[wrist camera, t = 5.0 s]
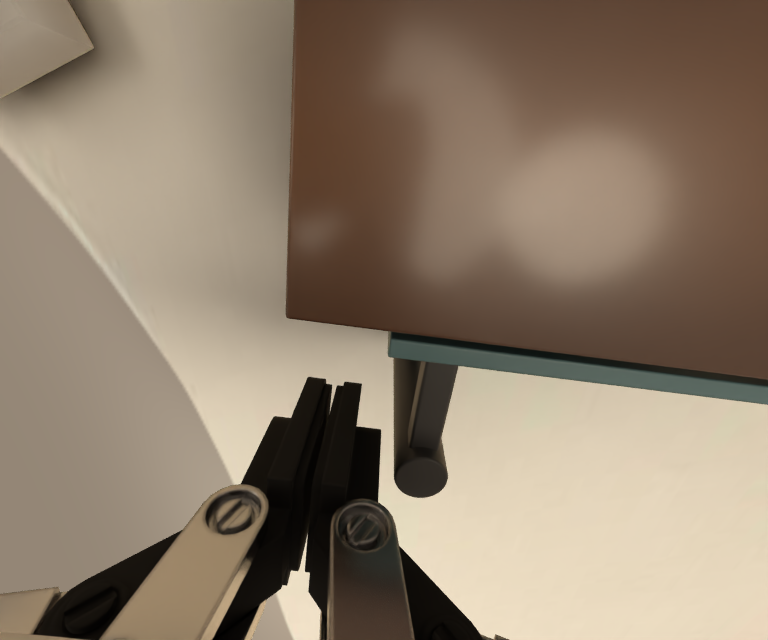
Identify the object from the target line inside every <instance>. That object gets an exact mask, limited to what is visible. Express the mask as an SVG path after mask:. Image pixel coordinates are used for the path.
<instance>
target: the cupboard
mask: <svg viewBox="0 0 768 640" xmlns="http://www.w3.org/2000/svg"><path fill="white" fill-rule="evenodd" d="M286 317H287V318H289V319H297V320H305V321H313V322H321V323H329V324H336V325H344V326H352V327H360V328H368V329H376V330H383V331H391V332H399V333H407V334H415V335H423V336H430V337H438V338H446V339H454V340H462V341H470V342H477V343H485V344H493V345H501V346H509V347H517V348H524V349H532V350H540V351H548V352H556V353H564V354H571V355H579V356H587V357H595V358H603V359H611V360H618V361H626V362H634V363H642V364H650V365H658V366H665V367H673V368H681V369H689V370H697V371H705V372H712V373H720V374H728V375H736V376H744V377H752V378H759V379H767V380H768V0H294V29H293V65H292V102H291V138H290V174H289V210H288V247H287V283H286Z"/></svg>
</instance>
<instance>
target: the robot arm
mask: <svg viewBox="0 0 768 640" xmlns="http://www.w3.org/2000/svg"><path fill="white" fill-rule="evenodd" d="M361 387H362V384H359V383H351V382H344V386H338V385H337V388H336V392H335V396H334V399H333V403H332V407H331V411H330V403H331V393H332V385H330V384H326V379H320V378H313V377H308V378H307V380H306V383H305V385H304V388H303V390H302V393H301V395H300V398H299V400H298V402H297V405H296V407H295V410H294V412H293V415H292V417H291V418H285V417H277V416H275V417H273V419H272V421H271V423H270V425H269V427H268V429H267V431H266V433H265V435H264V437H263V439H262V441H261V443H260V445H259V447H258V449H257V452H256V454H255V456H254V458H253V460H252V462H251V464H250V466H249V468H248V470H247V472H246V474H245V476H244V478H243V481H242V483H241V484H238V485H231V486H228V487H225V488H222V489H220V490H218V491H217V492H215V493H214V494H212V495H211V496H210V497H209V498H208V499H207V500H206V501H205V502H204V503H203V504H202V505H201V507H200V508H199V509H198V511H197V512H196V513H195V515H194V516H193V517H192V519H191V520H190V521H189V522H188V524H187V525H186V526H185V528H184V529H183V530H181V531H180V532H177V533H176V534H174V535H172V536H170V537H168V538H166V539H164V540H162V541H160V542H158V543H156V544H154V545H152V546H150V547H148V548H147V549H145V550H143V551H141V552H139V553H137V554H135V555H133V556H131V557H129V558H127V559H125V560H123V561H121V562H119V563H118V564H116V565H114V566H112V567H110V568H108V569H106V570H104V571H102V572H100V573H98V574H96V575H95V576H92V577H91V578H88V579H87V580H85V581H83V582H82V583H80V584H78V585H77V586H76V587H74V588H72V589H71V590H69V591H67V592H60V591H59V588H58V587H53V588H45V589H36V590H28V591H20V592H12V593H4V594H0V640H251V639H252V637H253V635H254V632H255V630H256V628H257V625H258V623H259V621H260V618H261V616H262V614H263V611H264V608H265V604H266V601H267V599H268V598H269V597H270V596H272V595H273V594H275V593H276V592H277V591H279V590H280V589H281V587H282V585H287V583H288V580H289V576H290V572H291V570H293V571H299V568H300V564H301V559H302V555H303V551H304V547H305V542H306V538H307V534H308V539H307V552H306V564H305V572H310V580H309V591H308V592H309V593H310V595H311V596H312V598H313V599H314V601H315V602H316V604H317V605H318V607H319V608H320V610H321V615H320V640H509V639H506V638H503V637H501V636H498V635H496V634H495V637H494V639H491V638H488V637H486V636H483V635H481V634H480V633H479V632H478V630H477V629H476V628H475V626H474V625H473V624H472V622H471V621H470V620H469V619H468V618H467V617H466V616H465V615H464V614H463V613H462V612H461V611H460V610H459V609H458V608H457V607H456V605H455V604H454V603H453V602H452V601H451V600H450V599H449V598H448V597H447V596H446V595H445V594H444V593H443V592H442V591H441V590H440V588H439V587H438V586H437V585H436V584H435V583H434V582H433V581H432V580H431V579H430V578H429V577H428V576H427V575H426V574H425V573H424V572H423V570H422V569H421V568H420V567H419V566H418V565H417V564H416V563H415V562H414V561H413V560H412V559H411V558H410V557H409V556H408V555H407V554H406V552H405V551H404V550H403V549H402V548H401V547H400V546H399V544H398V538H397V532H396V526H395V523H394V520H393V517H392V515H391V514H390V512H389V511H388V510H387V509H386V508H385V507H384V506H382V505H381V504H380V503H378V489H379V467H380V445H381V429H373V428H365V427H357V426H356V425H357V417H358V410H359V402H360V394H361ZM329 414H330V415H329Z"/></svg>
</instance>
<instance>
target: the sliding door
mask: <svg viewBox="0 0 768 640" xmlns="http://www.w3.org/2000/svg"><path fill="white" fill-rule="evenodd" d="M388 356H389V357H393V358H394V480H395V483H396V485H397V487H398V488H399V489H400V490H401V491H402V492H403V493H405V494H406V495H409V496H412V497H417V498H424V497H430V496H433V495H435V494H437V493H439V492H440V491H441V490H442V489H443V488H444V487H445V485H446V482H447V479H448V473H447V467H446V462H445V456H444V450H443V445H442V439H441V437H442V432H443V428H444V424H445V420H446V416H447V412H448V407H449V403H450V399H451V395H452V391H453V386H454V382H455V378H456V374H457V370H458V366H465V367H473V368H481V369H489V370H497V371H504V372H512V373H520V374H528V375H536V376H544V377H552V378H560V379H568V380H576V381H584V382H592V383H600V384H608V385H616V386H624V387H632V388H640V389H648V390H656V391H664V392H672V393H680V394H688V395H696V396H704V397H712V398H719V399H727V400H735V401H743V402H751V403H759V404H767V405H768V380H767V379H759V378H752V377H744V376H736V375H728V374H720V373H712V372H705V371H697V370H689V369H681V368H673V367H665V366H658V365H650V364H642V363H634V362H626V361H618V360H611V359H603V358H595V357H587V356H579V355H571V354H564V353H556V352H548V351H540V350H532V349H524V348H517V347H509V346H501V345H493V344H485V343H477V342H470V341H462V340H454V339H446V338H438V337H430V336H423V335H415V334H407V333H399V332H391V331H388Z"/></svg>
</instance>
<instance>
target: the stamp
mask: <svg viewBox="0 0 768 640" xmlns="http://www.w3.org/2000/svg"><path fill="white" fill-rule="evenodd" d="M92 49H94V46H93V45H92V42H91V40H90V39H89V37H88V35H87V33H86V32H85V30H84V28H83V26H82V25H81V23H80V21H79V19H78V17H77V16H76V14H75V12H74V10H73V9H72V7H71V5H70V3H69V1H68V0H0V99H1V98H3V97H5V96H7V95H8V94H10V93H12V92H14V91H16V90H18V89H20V88H21V87H23V86H25V85H27V84H29V83H31V82H33V81H34V80H36V79H38V78H40V77H42V76H44V75H46V74H47V73H49V72H51V71H53V70H55V69H57V68H58V67H60V66H62V65H64V64H66V63H68V62H70V61H71V60H73V59H75V58H77V57H79V56H81V55H83V54H84V53H86V52H88V51H90V50H92Z"/></svg>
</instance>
